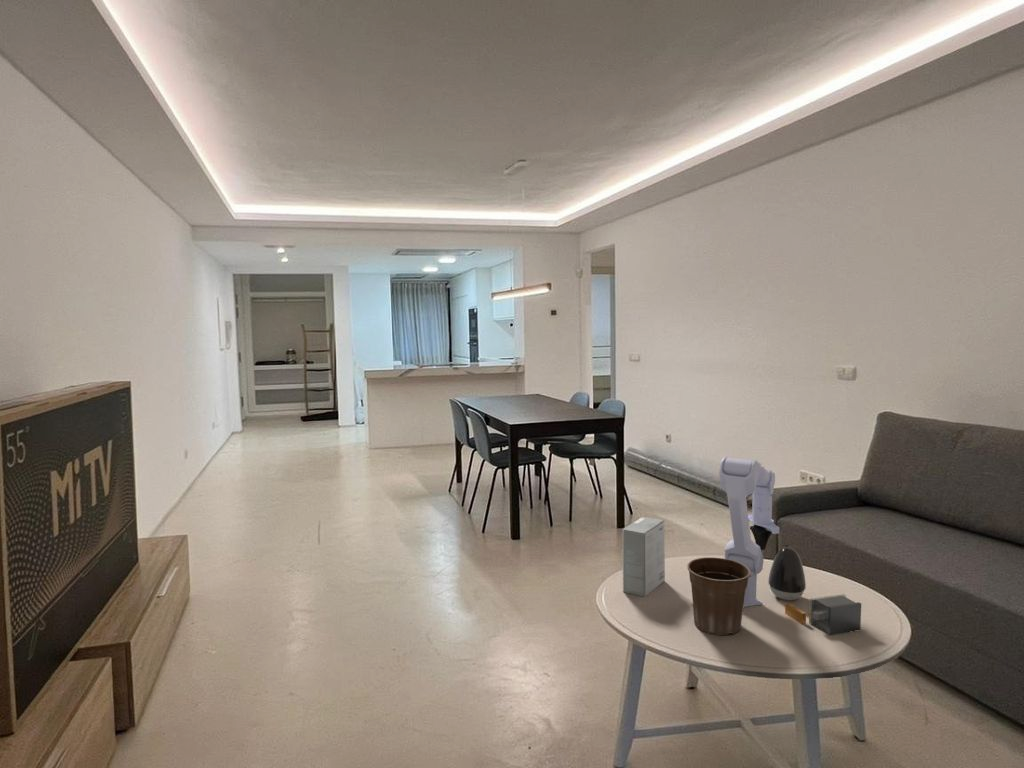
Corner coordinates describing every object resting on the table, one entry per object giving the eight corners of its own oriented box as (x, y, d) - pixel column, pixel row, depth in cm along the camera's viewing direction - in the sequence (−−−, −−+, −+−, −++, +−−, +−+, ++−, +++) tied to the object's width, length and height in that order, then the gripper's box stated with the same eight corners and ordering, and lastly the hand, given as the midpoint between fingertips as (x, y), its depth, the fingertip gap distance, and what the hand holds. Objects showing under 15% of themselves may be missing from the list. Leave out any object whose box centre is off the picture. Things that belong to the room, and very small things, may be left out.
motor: (820, 636, 168) (821, 609, 168) (785, 613, 182) (785, 588, 181) (869, 629, 172) (870, 602, 172) (831, 607, 186) (832, 582, 185)
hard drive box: (642, 575, 211) (643, 516, 209) (665, 581, 206) (665, 519, 204) (621, 591, 198) (621, 528, 196) (644, 597, 194) (645, 532, 192)
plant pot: (749, 644, 165) (750, 583, 163) (683, 634, 170) (684, 575, 169) (749, 617, 180) (750, 561, 178) (689, 609, 185) (690, 554, 184)
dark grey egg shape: (803, 591, 196) (805, 543, 194) (806, 606, 187) (809, 556, 184) (767, 586, 200) (768, 539, 198) (768, 601, 190) (770, 552, 188)
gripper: (788, 512, 197) (787, 555, 198) (758, 500, 211) (757, 540, 212) (768, 514, 195) (767, 557, 196) (739, 501, 209) (739, 542, 210)
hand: (761, 549), depth 204 cm, fingers closed
